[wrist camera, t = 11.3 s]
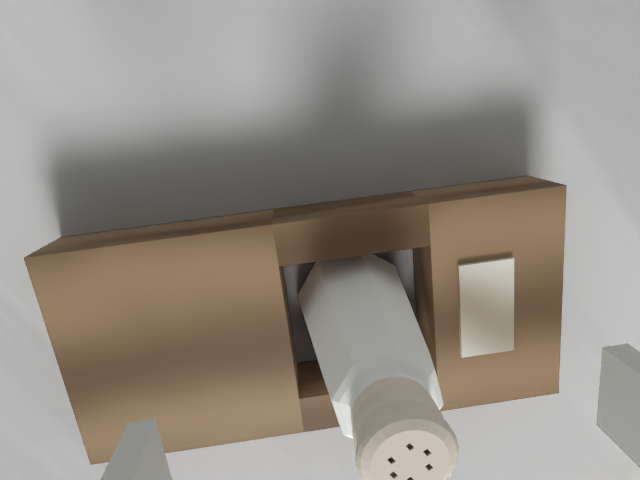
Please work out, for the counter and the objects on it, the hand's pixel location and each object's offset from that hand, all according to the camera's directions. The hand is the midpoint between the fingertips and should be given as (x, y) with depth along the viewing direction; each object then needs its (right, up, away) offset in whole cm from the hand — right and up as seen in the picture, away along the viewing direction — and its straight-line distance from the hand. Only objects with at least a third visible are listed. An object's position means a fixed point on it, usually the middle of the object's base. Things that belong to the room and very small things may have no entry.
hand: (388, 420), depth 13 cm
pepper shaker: (0, +2, +9) cm, 10 cm away
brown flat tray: (-2, +2, +9) cm, 10 cm away
